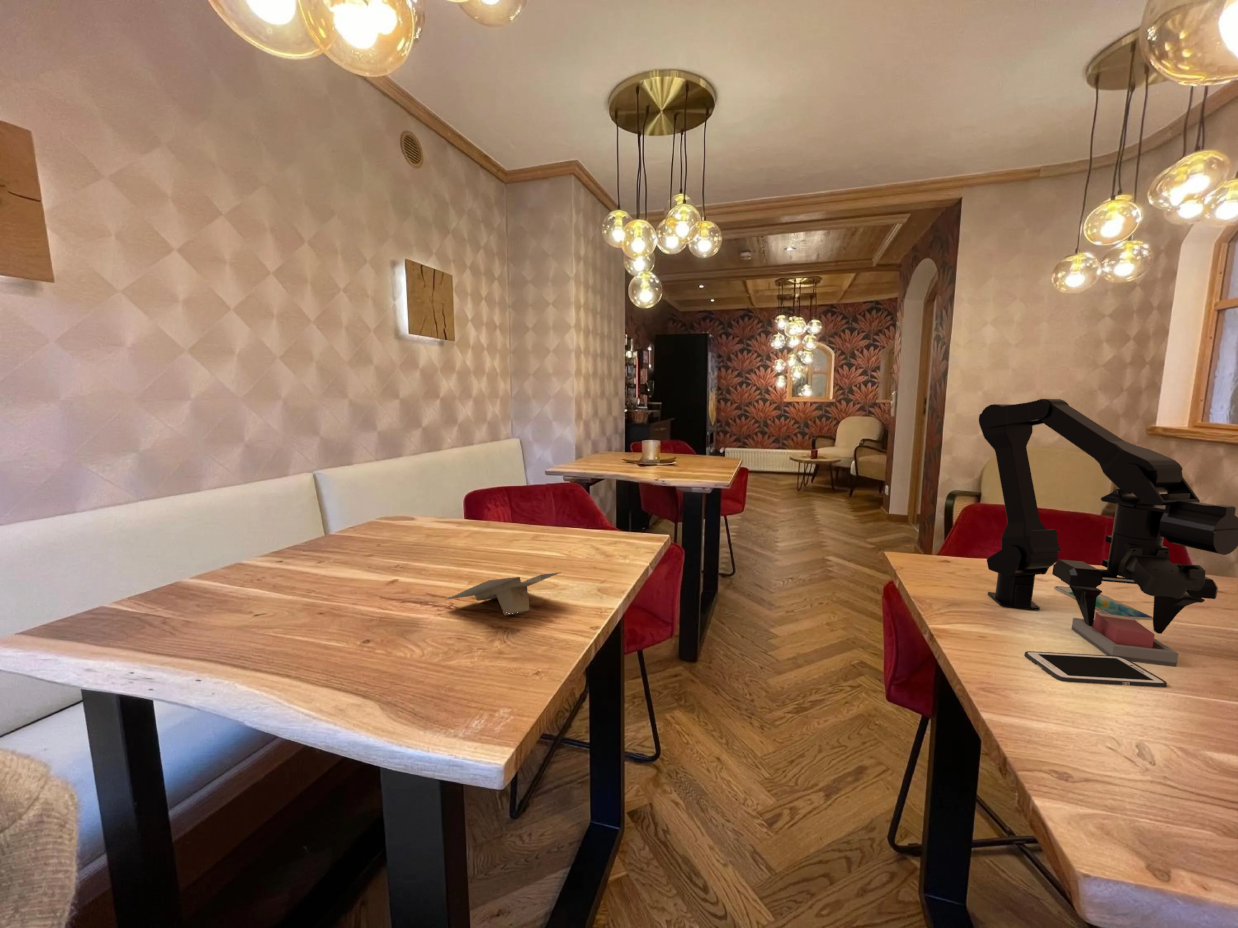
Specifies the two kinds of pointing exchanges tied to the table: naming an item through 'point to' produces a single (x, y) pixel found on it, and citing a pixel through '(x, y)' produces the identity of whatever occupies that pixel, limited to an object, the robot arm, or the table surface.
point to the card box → (1123, 630)
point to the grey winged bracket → (505, 592)
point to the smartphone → (1109, 605)
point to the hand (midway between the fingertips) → (1122, 628)
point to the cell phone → (1094, 669)
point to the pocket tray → (1126, 647)
